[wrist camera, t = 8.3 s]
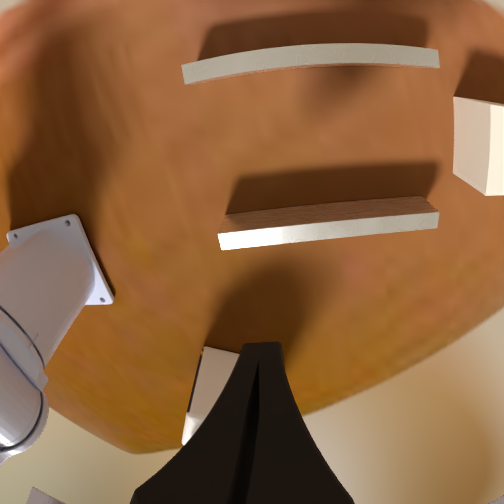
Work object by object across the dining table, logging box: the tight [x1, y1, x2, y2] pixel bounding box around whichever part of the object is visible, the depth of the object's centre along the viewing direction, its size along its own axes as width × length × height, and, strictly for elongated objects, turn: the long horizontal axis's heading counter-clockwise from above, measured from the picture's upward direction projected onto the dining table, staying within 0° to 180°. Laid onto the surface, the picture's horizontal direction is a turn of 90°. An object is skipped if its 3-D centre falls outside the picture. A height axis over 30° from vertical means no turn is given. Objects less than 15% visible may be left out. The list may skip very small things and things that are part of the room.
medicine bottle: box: [182, 346, 239, 445], centre depth 22 cm, size 7×7×12 cm
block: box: [453, 97, 504, 196], centre depth 12 cm, size 5×5×4 cm
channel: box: [181, 43, 440, 250], centre depth 14 cm, size 12×10×2 cm
